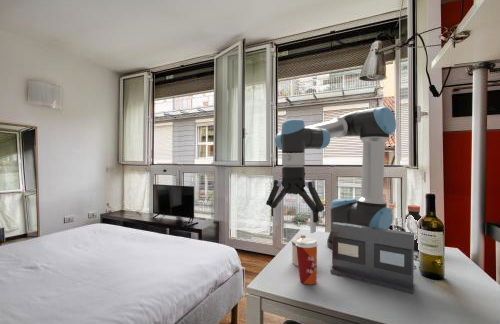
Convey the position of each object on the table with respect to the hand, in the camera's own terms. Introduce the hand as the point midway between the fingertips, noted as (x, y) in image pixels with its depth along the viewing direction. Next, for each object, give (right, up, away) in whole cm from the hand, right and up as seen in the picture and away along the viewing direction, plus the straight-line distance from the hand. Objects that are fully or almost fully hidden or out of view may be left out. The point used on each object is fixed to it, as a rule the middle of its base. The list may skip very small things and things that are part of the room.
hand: (293, 229), depth 85 cm
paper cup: (+6, -19, +3) cm, 20 cm away
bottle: (+62, -18, +34) cm, 73 cm away
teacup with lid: (+8, -19, +19) cm, 28 cm away
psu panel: (+28, -19, +5) cm, 34 cm away
